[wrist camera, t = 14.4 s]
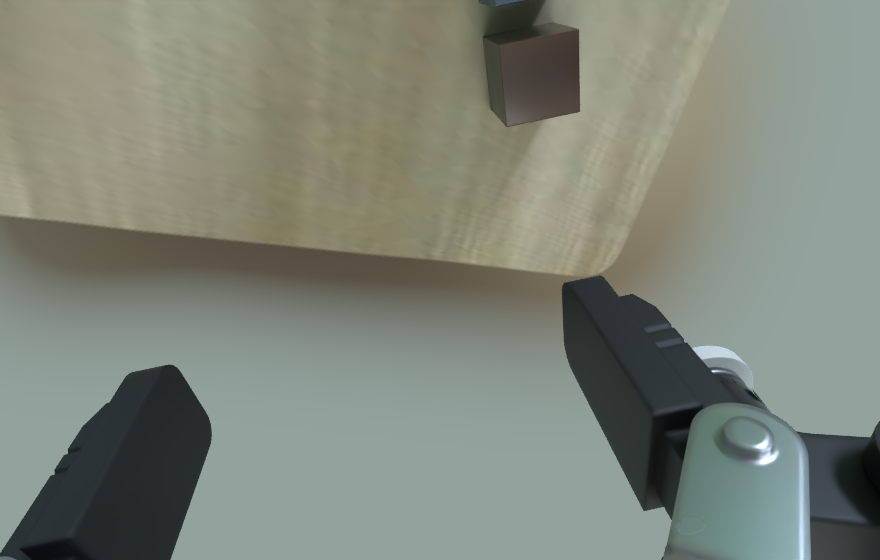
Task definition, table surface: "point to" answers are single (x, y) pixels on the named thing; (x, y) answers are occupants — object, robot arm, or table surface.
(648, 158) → the table surface
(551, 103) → the block
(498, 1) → the block
